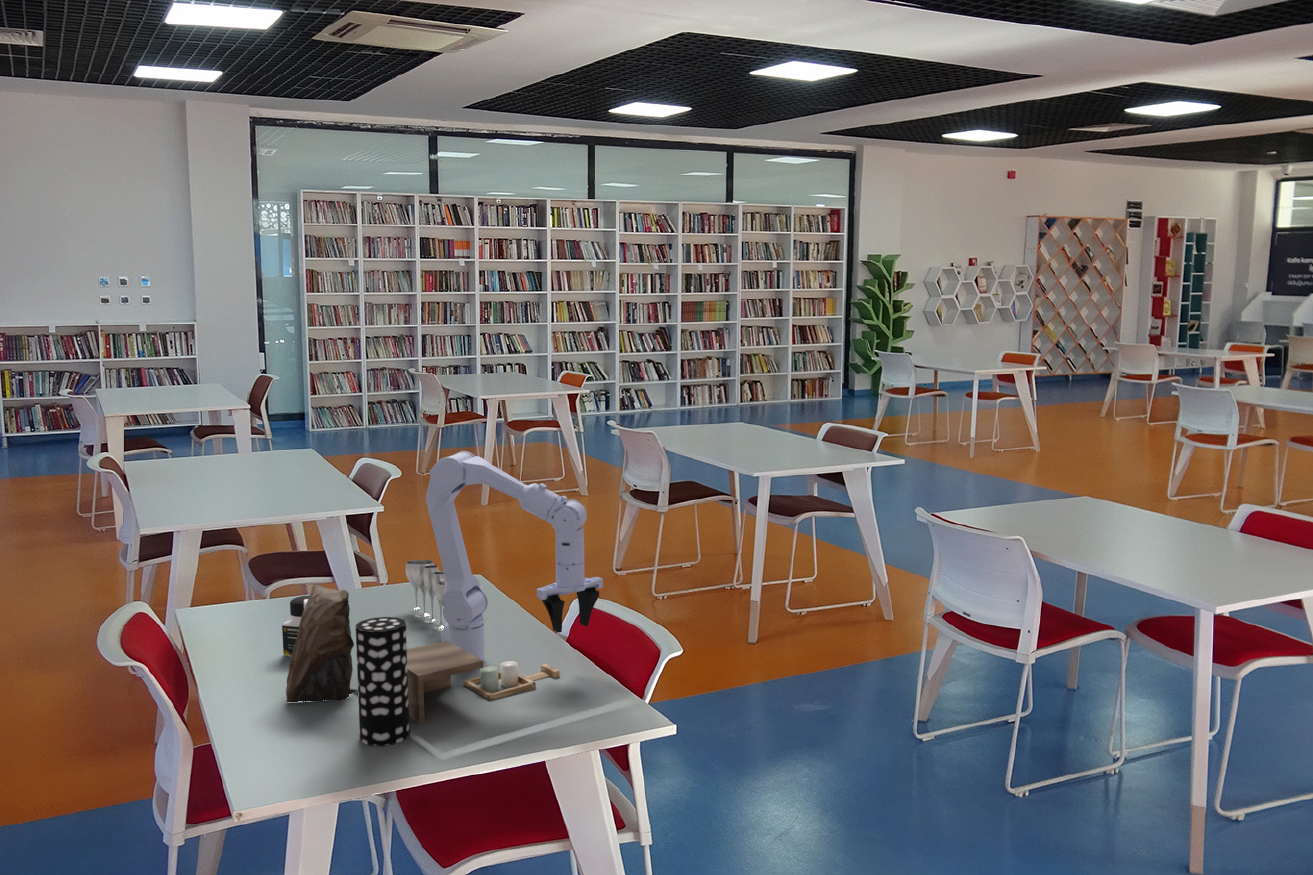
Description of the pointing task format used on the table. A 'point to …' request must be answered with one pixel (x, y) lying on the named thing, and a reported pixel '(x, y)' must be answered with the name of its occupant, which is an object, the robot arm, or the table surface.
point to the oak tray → (523, 685)
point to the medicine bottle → (293, 624)
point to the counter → (434, 671)
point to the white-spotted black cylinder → (382, 680)
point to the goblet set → (427, 583)
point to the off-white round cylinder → (509, 674)
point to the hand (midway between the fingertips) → (570, 628)
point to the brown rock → (322, 649)
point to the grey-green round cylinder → (489, 678)
